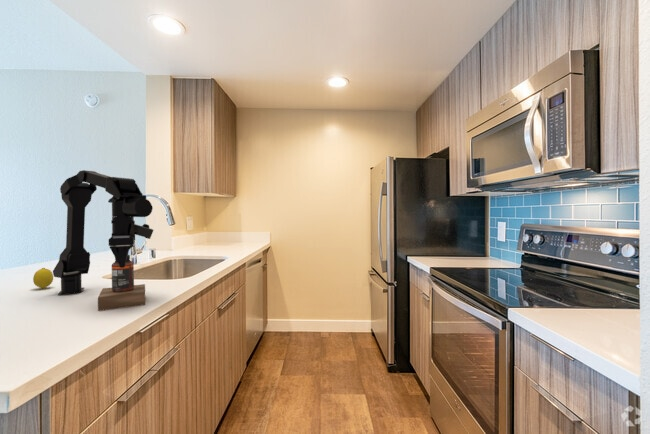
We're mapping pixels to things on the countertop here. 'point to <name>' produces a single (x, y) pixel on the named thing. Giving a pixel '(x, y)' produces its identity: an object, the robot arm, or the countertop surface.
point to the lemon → (43, 278)
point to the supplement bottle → (123, 276)
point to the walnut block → (121, 298)
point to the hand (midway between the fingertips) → (123, 265)
